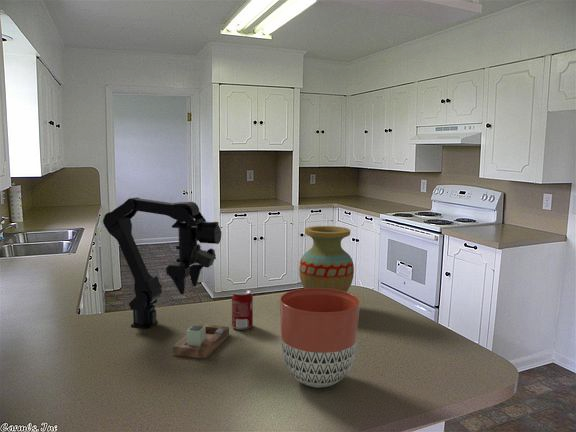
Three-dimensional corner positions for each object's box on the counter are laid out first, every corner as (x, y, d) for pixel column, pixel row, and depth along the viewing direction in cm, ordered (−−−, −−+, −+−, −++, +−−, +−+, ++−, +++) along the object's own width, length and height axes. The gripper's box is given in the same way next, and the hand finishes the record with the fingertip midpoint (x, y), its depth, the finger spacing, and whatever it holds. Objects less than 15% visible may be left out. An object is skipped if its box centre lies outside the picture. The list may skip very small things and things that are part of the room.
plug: (187, 350, 131) (186, 329, 131) (192, 345, 135) (192, 324, 134) (200, 352, 131) (199, 330, 130) (205, 346, 134) (205, 325, 134)
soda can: (249, 331, 147) (249, 295, 146) (229, 330, 149) (229, 294, 147) (254, 324, 154) (255, 289, 152) (235, 322, 155) (235, 288, 154)
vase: (364, 312, 167) (367, 231, 163) (320, 323, 155) (323, 236, 151) (329, 298, 183) (331, 223, 179) (287, 307, 172) (289, 227, 168)
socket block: (173, 354, 130) (173, 345, 129) (199, 331, 147) (199, 322, 147) (206, 358, 127) (206, 348, 127) (229, 334, 145) (229, 325, 144)
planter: (298, 409, 103) (300, 317, 100) (267, 371, 121) (268, 292, 118) (372, 392, 111) (375, 306, 108) (332, 359, 128) (334, 284, 125)
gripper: (199, 249, 134) (200, 301, 136) (222, 238, 152) (222, 284, 154) (164, 247, 137) (165, 298, 139) (191, 236, 155) (192, 281, 157)
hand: (188, 290), depth 147 cm, fingers open, 9 cm apart
